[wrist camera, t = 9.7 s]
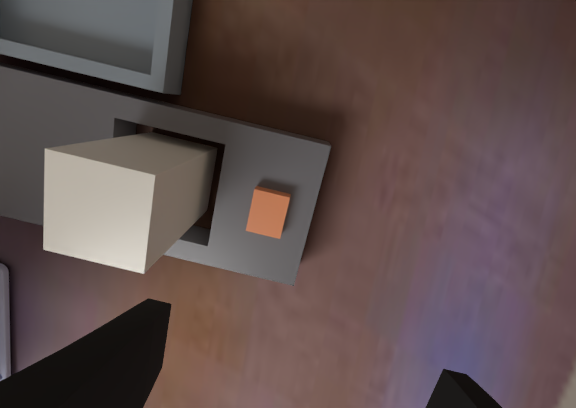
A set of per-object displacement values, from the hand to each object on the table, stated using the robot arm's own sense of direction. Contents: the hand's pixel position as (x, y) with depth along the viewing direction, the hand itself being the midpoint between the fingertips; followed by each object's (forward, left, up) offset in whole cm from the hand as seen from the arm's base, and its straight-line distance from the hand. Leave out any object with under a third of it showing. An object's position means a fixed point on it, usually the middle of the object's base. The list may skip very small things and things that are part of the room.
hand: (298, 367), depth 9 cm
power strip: (+2, +12, -9) cm, 15 cm away
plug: (+2, +7, -9) cm, 12 cm away
